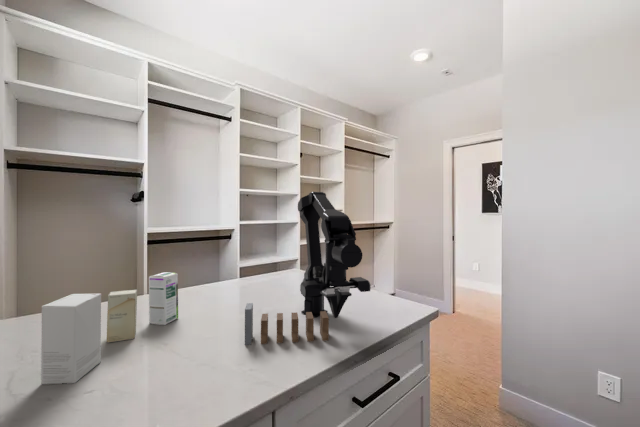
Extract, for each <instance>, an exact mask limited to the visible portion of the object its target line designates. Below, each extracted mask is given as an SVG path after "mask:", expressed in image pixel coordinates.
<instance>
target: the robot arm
mask: <svg viewBox="0 0 640 427" xmlns="http://www.w3.org/2000/svg"><path fill="white" fill-rule="evenodd" d="M297 211H298V212H299V218H300V219H301V221H303V223H304V226H305V228H304V229H305V239H306V241H305V242H306V253H307V268H306V269H305V272H303V274H304V275H303V277H304V278H303V279H302V281H301V283H300V285H299V290H300V294H301V296H303V298H304V301H303V302H304V305H303V307H304V310H301V314H304V315H306V312H312V314H313V318H317V317H320V312H321V311H326V313H327V314H328V310H326V309H325V299H326V300H327V301H328V304H329V308H330V311H331V314H332V317H333V318H334V319H338V318H339V315H340V313H341V311H342V310H343V308H344V305H345V303H346V302H347V300H348V299H349V297H351V296H352V295H353V294H352V293H351V292H350V289H358V291H359V292H360V293H361V292H362V293H363V292H364V293H365V292H371V290H372V289H371V287H372V286H371V283H370V281H369V280H368V279H366V278H364V277H361V276H356V277H350V278H349V280H347V270H349V268H355V267H357V266H359V264H360V263H361V262H362V260H363V252H362V249H361V248H360V247H359V245H357V244H356V240H357V237H356V236H357V233H356V231H355V229H354V225H353V224H352V221H351V219H350V217H349V216H348V215H347V214H346V213H344V212H342V211H339V210H337V209H336V208H335V207H334V206H333V204H332V202H331V201H330V200H329V198H328V197H327V194H326V192H324V191H311V192H309V193H308V194H307V195H305V196H302V197H301V198H300V199H299V201H298V202H297ZM320 219H321V223H320V225H319V221H320ZM319 226H320V228H321V231H322V234H323V237H324V243H325V262H324V263H323V261H322V260H323V259H322V250H321V248H322V247H321V239H320V238H321V237H320V228H319Z"/></svg>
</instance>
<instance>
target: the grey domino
mask: <svg viewBox="0 0 640 427" xmlns="http://www.w3.org/2000/svg"><path fill="white" fill-rule="evenodd" d="M253 309H254V303H253V302H247V303H246V305H245V308H244V346H246V345H247V346H248V345H252V341H253V333H254V332H253V330H254V322H253V321H254V319H253V318H254V310H253Z"/></svg>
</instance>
